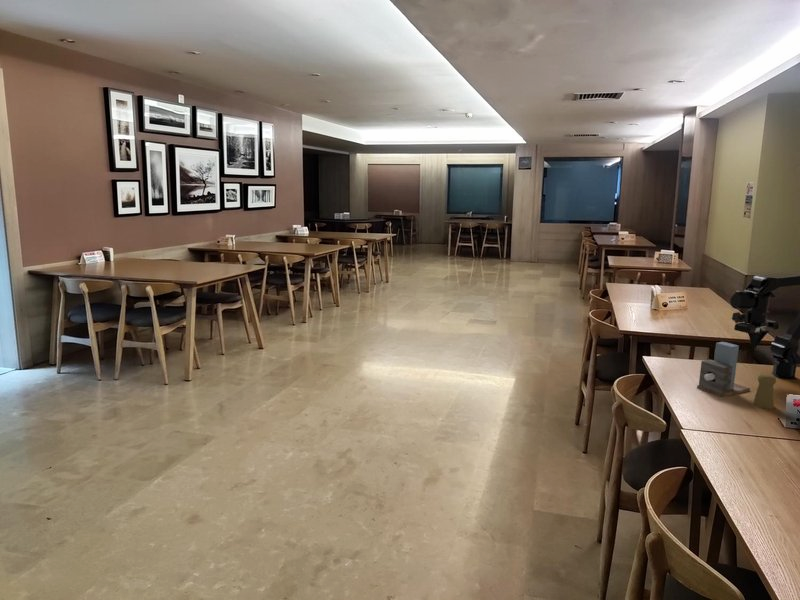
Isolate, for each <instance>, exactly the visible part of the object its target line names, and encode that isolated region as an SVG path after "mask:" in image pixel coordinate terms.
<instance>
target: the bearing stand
mask: <svg viewBox="0 0 800 600" xmlns="http://www.w3.org/2000/svg"><path fill="white" fill-rule="evenodd" d="M699 370H700V372H699V379H698V380H699V381H698V385H696V389H698V390H700V391H701V390H702V391H705V392H707V393H710V394H713V395H715V396H718V397H721V398H724V397H729V396H733V395H737V394H741V393H745V392H750V391H751V387H747V386H745V385H742V384H739V383H736V382H734V388H732V389H730V385H731V378H732V370H733V366H730V365H727V364H723V363H720V362H717V361H714V359H705V360H701V361H700V369H699ZM709 373H716V378H715V379H714V380H709V381H707V380H705V378H704V376H705V374H709Z"/></svg>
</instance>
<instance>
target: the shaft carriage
mask: <svg viewBox="0 0 800 600" xmlns="http://www.w3.org/2000/svg"><path fill="white" fill-rule="evenodd" d="M739 347H740V345H737V344H734V343H730V342H725V341H720V342H716V343H715V350H714V359H713V361H717V362H720V363H723V364H727V365H730V366H733V370H732V378H731V385H730V389H732V388H734V383H735V379H736V374H737V373H736V371H737V363H738V357H739ZM704 378H705V380H707V381H709V380H714V379H715V378H716V373H709V374H705V376H704Z"/></svg>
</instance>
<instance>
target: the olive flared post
mask: <svg viewBox="0 0 800 600" xmlns="http://www.w3.org/2000/svg"><path fill="white" fill-rule="evenodd" d="M757 380H758V381H757V382H758V385H757V389H756V393H755V396H754V400H753V402H752V404H753V406H754V407H758V408H762V409H767V410H768V409H774V408H775V406H774V405H775V403H774V402H775V397H774V395H775V394H774V389H775V388H774V385H775V384H776V382H777V377H776V375H774V374H772V373H770V374H769V373H760V374H759V375H758V377H757Z"/></svg>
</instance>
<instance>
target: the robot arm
mask: <svg viewBox="0 0 800 600" xmlns="http://www.w3.org/2000/svg"><path fill="white" fill-rule="evenodd" d="M794 286H800V273H795V274H794V273H793V274H786V275H777V276H774V275H763V274H757V275H754V276H753V278H751V280H750V282H749V283H748V284H747V285H746V286H745V288H744V289H743V290H735V293H734V294H732V296H731V298H730V301H729V302H730V305H731V308H733V309H736V310H737V309H741V310H742V309H747V310H746V313H741V312H739V311H738V312H733V313H732V316H731V320H732V321H733V322H734V323H735V324H734V329H733V330H734V331H737V332H741V333H746V334H747V335H748V338H749V340H750V345H751V348H752V349H756V348H757V347H758V345H760V343H761V342H762V340H763V339H764V338H765V337H766V335H767V334H769V332H770V331H769V330H766V328H771V329H772V330H775V331H776V330H778V329H779V327H780V326H779V325H780V324H779V322H778V321H775V320H771V319H767V318H768V316H769V315H770V314H771V312H770V311H769V306H770V305H769V304H770V298H775V297H776V295H775V294H774V293H773V291H776V290H778V289H780V288H785V287H794ZM799 342H800V311H799V312H798V314H797V316H796V317H795V318H794V320H793V321H792V323H791V325H790V326H789V327H788V329H787V331H786V332H785V334H783V335H781V336H780V335H776V336H775V337H774V339H773V341H772V342H771V343H770V348H769V349H770V352H771V354H772V355H771V356H772V358H773V359H774V360H775V363H773V369H772V371H771V374H772V375H773V376H775V377H776V378H779V379H790V380H791V379H793V380H798V379H797V378H798V377H797V376H796V372H797V371H796V370H797V365H800V354H798V351H799V347H800V345H799V344H800V343H799Z"/></svg>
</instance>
